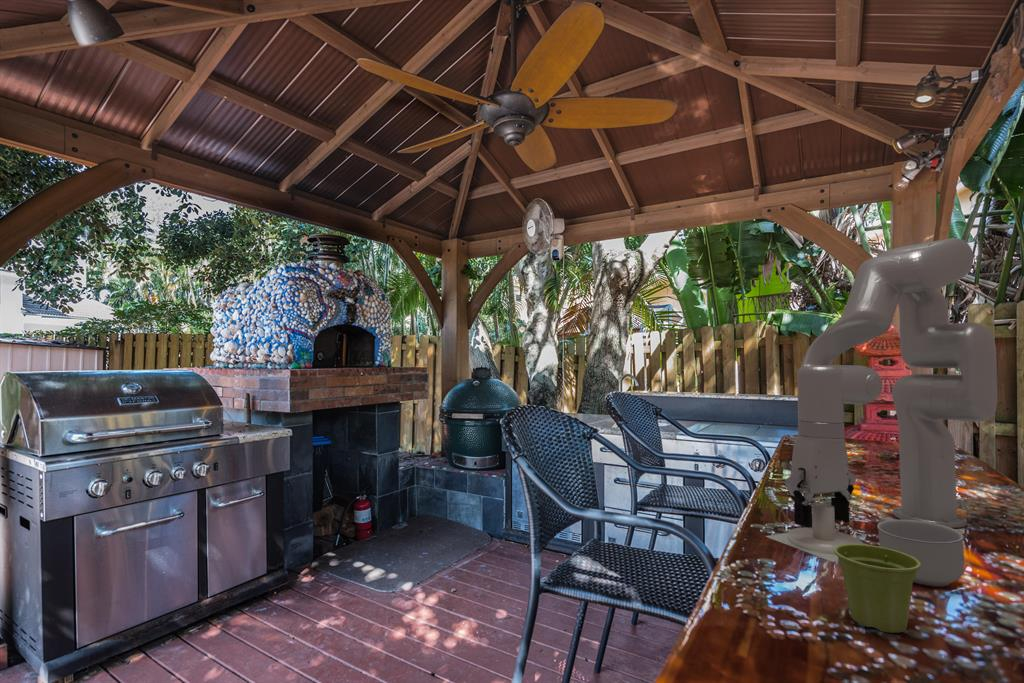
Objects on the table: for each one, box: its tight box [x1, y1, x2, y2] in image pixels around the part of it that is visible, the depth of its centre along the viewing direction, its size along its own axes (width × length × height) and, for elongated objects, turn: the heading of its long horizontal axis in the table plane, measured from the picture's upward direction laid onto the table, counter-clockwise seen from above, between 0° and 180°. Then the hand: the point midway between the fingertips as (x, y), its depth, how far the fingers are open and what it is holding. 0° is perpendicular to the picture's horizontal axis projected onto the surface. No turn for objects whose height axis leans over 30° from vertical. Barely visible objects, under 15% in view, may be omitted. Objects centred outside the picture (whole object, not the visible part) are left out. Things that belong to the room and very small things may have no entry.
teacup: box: [876, 516, 965, 587], centre depth 84 cm, size 14×11×8 cm
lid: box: [787, 502, 863, 555], centre depth 97 cm, size 12×12×7 cm
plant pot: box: [834, 544, 921, 634], centre depth 69 cm, size 9×9×9 cm
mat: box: [765, 532, 869, 563], centre depth 97 cm, size 14×14×1 cm
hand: (822, 523), depth 97 cm, fingers open, 9 cm apart
